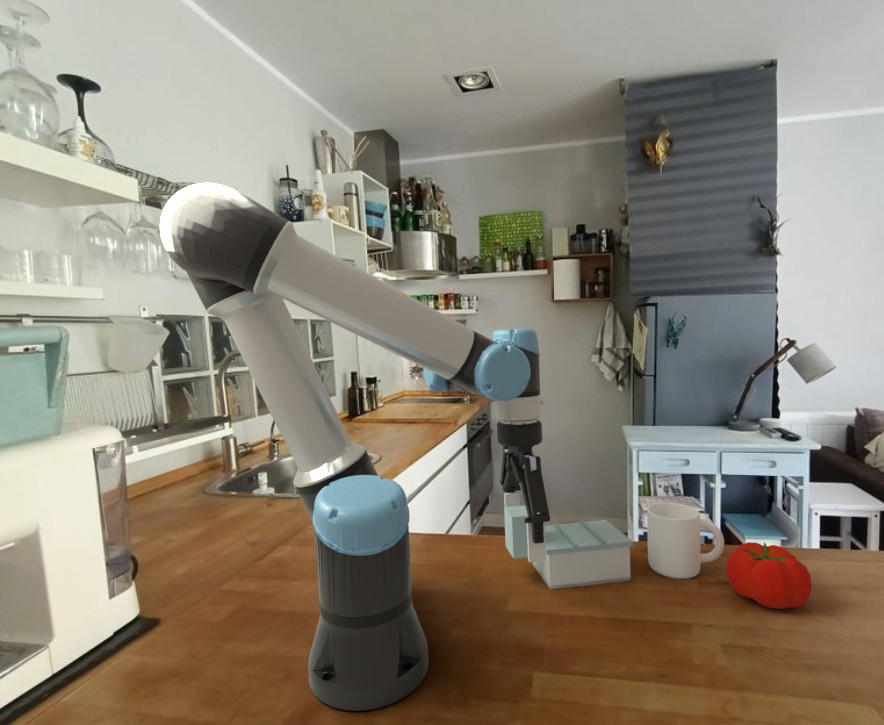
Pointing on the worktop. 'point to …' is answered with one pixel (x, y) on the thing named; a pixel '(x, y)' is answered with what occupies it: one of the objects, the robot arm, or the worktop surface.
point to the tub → (585, 567)
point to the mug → (678, 540)
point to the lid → (561, 535)
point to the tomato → (768, 575)
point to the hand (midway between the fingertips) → (524, 543)
